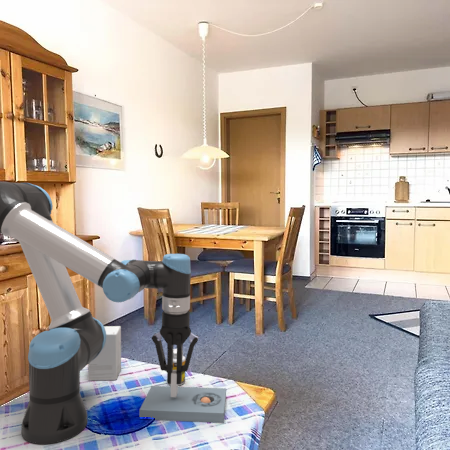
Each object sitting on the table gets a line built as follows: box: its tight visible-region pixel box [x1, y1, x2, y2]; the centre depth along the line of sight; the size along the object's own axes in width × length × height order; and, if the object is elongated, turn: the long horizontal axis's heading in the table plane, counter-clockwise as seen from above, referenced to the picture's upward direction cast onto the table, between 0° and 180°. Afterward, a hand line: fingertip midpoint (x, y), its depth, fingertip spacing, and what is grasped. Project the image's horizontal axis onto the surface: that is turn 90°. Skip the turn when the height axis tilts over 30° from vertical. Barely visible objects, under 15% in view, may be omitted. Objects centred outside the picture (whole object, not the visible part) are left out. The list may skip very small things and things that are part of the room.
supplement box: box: [87, 325, 122, 381], centre depth 132 cm, size 9×9×15 cm
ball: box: [201, 397, 211, 403], centre depth 112 cm, size 3×3×3 cm
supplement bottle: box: [168, 348, 186, 387], centre depth 127 cm, size 6×6×10 cm
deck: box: [138, 385, 227, 424], centre depth 112 cm, size 22×14×2 cm, turn 87°
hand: (174, 394), depth 112 cm, fingers closed
